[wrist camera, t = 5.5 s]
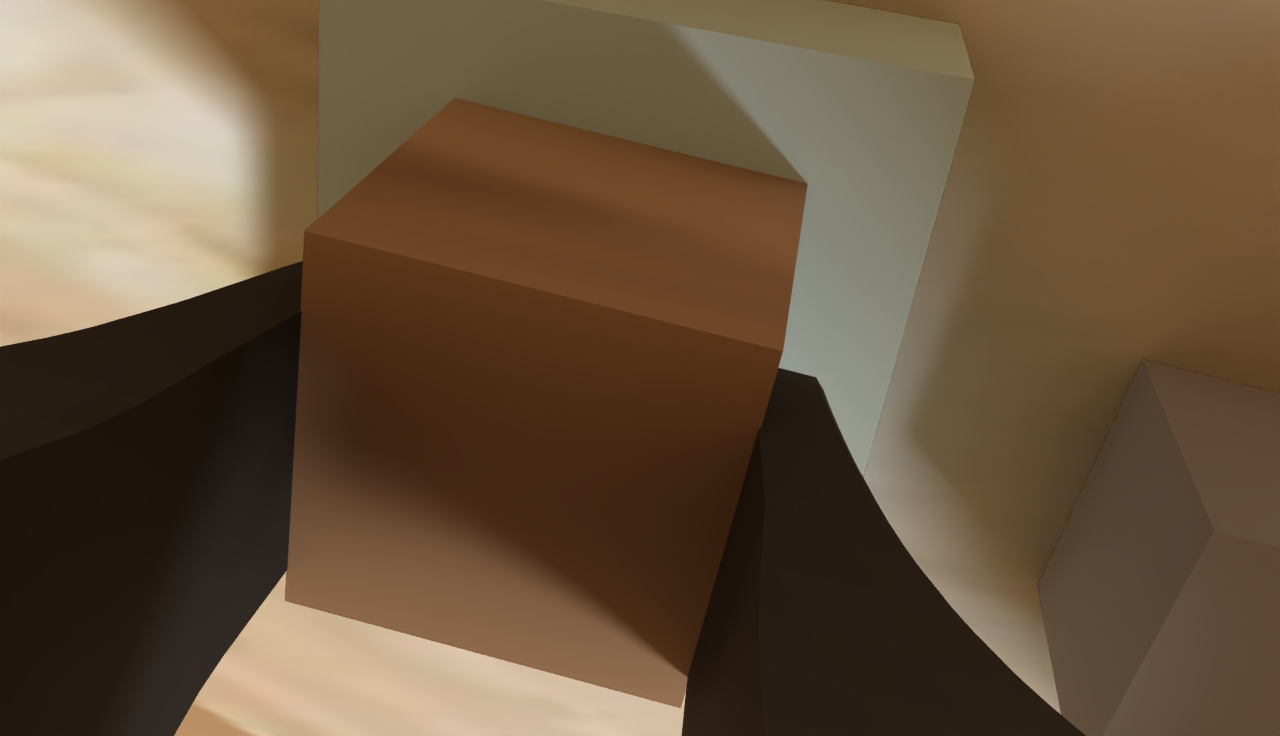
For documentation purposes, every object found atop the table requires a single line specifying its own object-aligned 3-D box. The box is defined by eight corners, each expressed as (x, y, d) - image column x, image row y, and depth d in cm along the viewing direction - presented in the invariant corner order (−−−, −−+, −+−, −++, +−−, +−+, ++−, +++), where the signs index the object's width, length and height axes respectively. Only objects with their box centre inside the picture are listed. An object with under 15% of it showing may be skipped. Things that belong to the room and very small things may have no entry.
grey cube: (1301, 651, 18) (1404, 875, 14) (1036, 582, 18) (1074, 786, 15) (1439, 430, 16) (1598, 629, 12) (1141, 356, 16) (1214, 531, 13)
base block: (834, 479, 18) (827, 604, 16) (393, 384, 19) (316, 491, 16) (957, 17, 15) (974, 80, 12) (413, -81, 15) (319, -40, 13)
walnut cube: (726, 479, 15) (680, 708, 11) (419, 401, 15) (284, 600, 12) (807, 183, 13) (782, 351, 10) (454, 98, 13) (305, 230, 10)
